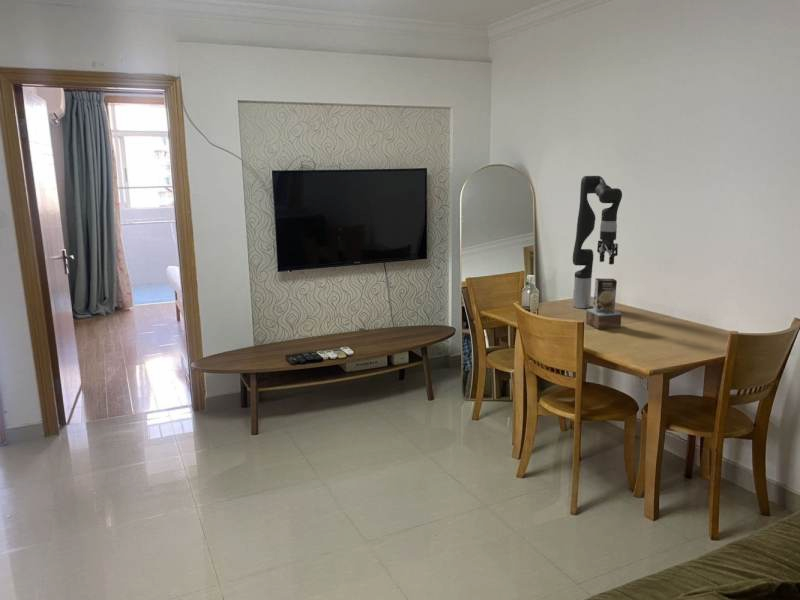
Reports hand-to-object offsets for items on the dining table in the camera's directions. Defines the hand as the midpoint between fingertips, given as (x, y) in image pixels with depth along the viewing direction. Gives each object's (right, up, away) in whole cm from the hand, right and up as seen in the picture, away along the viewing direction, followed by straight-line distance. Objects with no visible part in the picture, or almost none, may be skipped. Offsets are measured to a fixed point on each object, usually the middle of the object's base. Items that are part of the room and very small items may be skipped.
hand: (606, 263), depth 294 cm
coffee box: (+1, -24, +5) cm, 25 cm away
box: (+1, -31, +7) cm, 32 cm away
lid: (0, -25, +5) cm, 25 cm away
